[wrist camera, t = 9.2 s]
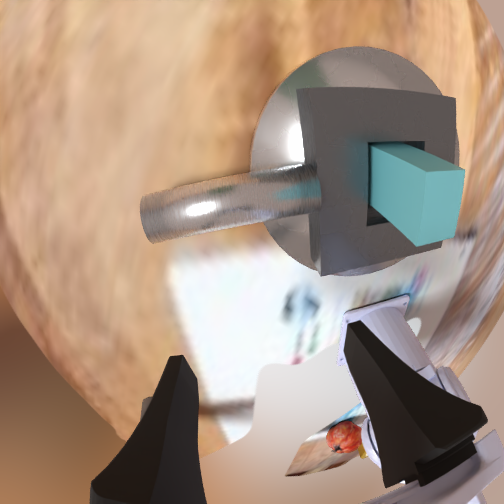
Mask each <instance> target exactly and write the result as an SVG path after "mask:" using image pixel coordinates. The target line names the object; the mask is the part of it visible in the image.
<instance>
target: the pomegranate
mask: <svg viewBox="0 0 504 504" xmlns="http://www.w3.org/2000/svg"><path fill="white" fill-rule="evenodd" d="M361 430H362V429H361V427H359V426H357V425H355V424H354V423H352V422H351V421H344V422H340V423H339V424H337V425H336V426H334V427H332V428H331V429H330V430H329V431H328V433H327V436H326V441H327V444H328V445H329V447H331V448H332V449H333V450H332V452H337V453H344V452H345V453H350V452H353V451H355V450H357V449H358V447H359V446H360V445H361V444H362V438H361Z"/></svg>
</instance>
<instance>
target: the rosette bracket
mask: <svg viewBox="0 0 504 504" xmlns="http://www.w3.org/2000/svg"><path fill="white" fill-rule="evenodd" d="M386 141H399V142H402V143H405V144H407V145H410V146H413V147H415V148H418V149H420V150H423V151H425V152H427V153H430V154H432V155H434V156H437V157H439V158H441V159H443V160H446V161H448V162H450V163H452V164H454V165H456V166H458V167H459V141H458V135H457V129H456V98H453V97H448V96H443V95H442V93H441V92H440V90H439V89H438V87H437V86H436V85H435V84H434V82H433V81H432V80H431V79H430V78H429V77H428V76H427V75H426V74H425V73H424V72H423V71H422V70H421V69H420V68H418V67H417V66H416V65H414V64H413V63H412V62H410V61H408V60H406V59H405V58H403V57H401V56H399V55H397V54H394V53H392V52H389V51H386V50H382V49H378V48H372V47H355V46H354V47H346V48H339V49H336V50H332V51H329V52H326V53H323V54H320V55H317V56H315V57H313V58H312V59H310V60H308V61H306V62H304V63H302V64H301V65H300V66H298V67H297V68H295V69H294V70H293V71H291V72H290V73H289V74H288V75H287V76H286V77H285V78H284V79H283V80H282V81H281V82H280V83H279V84H278V85H277V87H276V88H275V89H274V91H273V92H272V94H271V95H270V96H269V98H268V99H267V101H266V103H265V105H264V107H263V109H262V111H261V113H260V115H259V118H258V121H257V124H256V126H255V129H254V132H253V138H252V143H251V149H250V166H249V168H250V172H248V173H242V174H237V175H232V176H226V177H221V178H216V179H211V180H207V181H202V182H197V183H193V184H188V185H184V186H180V187H175V188H171V189H167V190H163V191H159V192H155V193H151V194H147V195H144V196H143V197H142V199H141V203H140V215H141V221H142V225H143V229H144V232H145V234H146V236H147V238H148V240H149V241H150V242H151V243H153V244H154V243H159V242H163V241H168V240H173V239H178V238H183V237H187V236H192V235H197V234H202V233H207V232H212V231H217V230H222V229H228V228H233V227H238V226H243V225H249V224H254V223H259V222H264V224H265V226H266V228H267V230H268V231H269V233H270V235H271V236H272V237H273V239H274V240H275V241H276V242H277V244H278V245H279V246H280V247H281V248H282V249H283V250H284V251H285V252H286V253H287V254H288V255H289V256H291V257H292V258H294V259H295V260H296V261H298V262H299V263H301V264H303V265H305V266H307V267H309V268H311V269H313V270H316V271H318V272H319V274H320V276H326V275H330V274H331V275H338V276H356V275H364V274H369V273H373V272H376V271H379V270H382V269H385V268H387V267H389V266H392V265H394V264H395V263H397V262H399V261H401V260H402V259H404V258H405V257H407V256H410V255H414V254H418V253H422V252H426V251H429V250H433V249H437V248H441V245H442V241H443V240H441V241H438V242H434V243H430V244H426V245H422V246H417V247H416V246H415V245H414V244H413V243H412V242H411V241H410V240H409V239H408V238H407V237H406V236H405V235H404V234H403V233H402V232H401V231H400V230H398V229H397V228H396V227H395V226H394V225H393V224H392V223H391V222H390V221H388V220H387V219H386V218H385V217H384V216H383V215H382V214H381V213H379V212H378V211H377V210H376V209H375V208H374V207H372V206H371V205H370V204H369V203H368V142H386Z"/></svg>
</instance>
